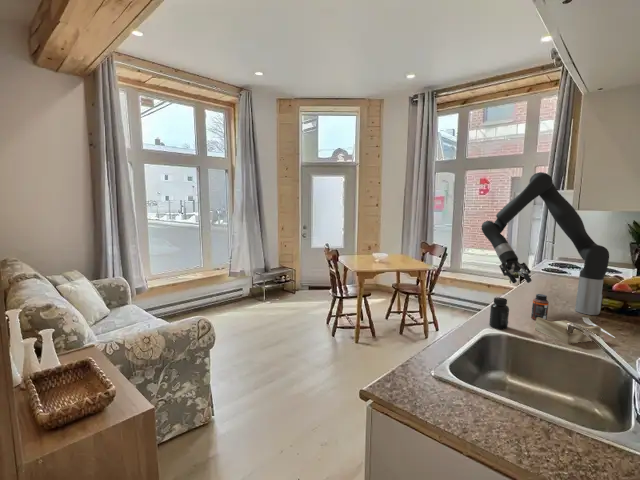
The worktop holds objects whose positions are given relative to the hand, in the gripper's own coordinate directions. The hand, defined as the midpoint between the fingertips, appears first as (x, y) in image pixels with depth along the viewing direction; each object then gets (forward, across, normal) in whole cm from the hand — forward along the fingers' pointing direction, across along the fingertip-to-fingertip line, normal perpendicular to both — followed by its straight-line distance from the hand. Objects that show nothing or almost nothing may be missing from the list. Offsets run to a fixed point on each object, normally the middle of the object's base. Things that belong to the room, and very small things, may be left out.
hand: (522, 282), depth 165 cm
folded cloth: (+30, -5, -9) cm, 32 cm away
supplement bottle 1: (+21, -26, 0) cm, 33 cm away
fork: (+28, +17, -7) cm, 33 cm away
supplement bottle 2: (+18, 0, +3) cm, 18 cm away
